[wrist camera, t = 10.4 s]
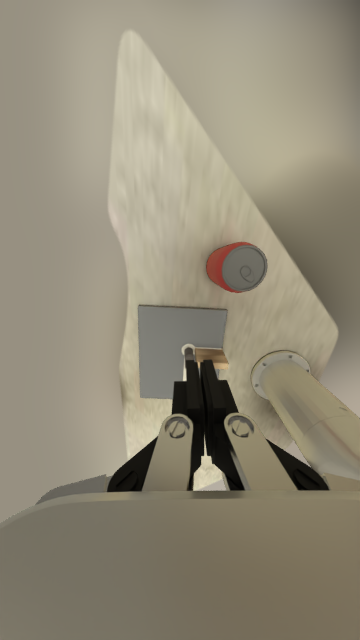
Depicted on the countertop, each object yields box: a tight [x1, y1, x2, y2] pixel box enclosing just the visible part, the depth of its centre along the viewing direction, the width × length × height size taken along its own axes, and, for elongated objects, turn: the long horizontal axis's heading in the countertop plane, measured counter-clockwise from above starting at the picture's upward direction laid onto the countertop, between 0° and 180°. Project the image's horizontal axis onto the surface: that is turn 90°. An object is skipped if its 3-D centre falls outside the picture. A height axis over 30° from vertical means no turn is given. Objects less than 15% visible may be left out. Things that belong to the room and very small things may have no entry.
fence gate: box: [184, 347, 194, 368], centre depth 36 cm, size 11×2×6 cm, turn 6°
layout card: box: [138, 305, 227, 399], centre depth 39 cm, size 18×22×1 cm
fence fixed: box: [195, 348, 228, 369], centre depth 35 cm, size 6×1×6 cm, turn 87°
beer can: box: [206, 242, 267, 293], centre depth 27 cm, size 7×7×12 cm
